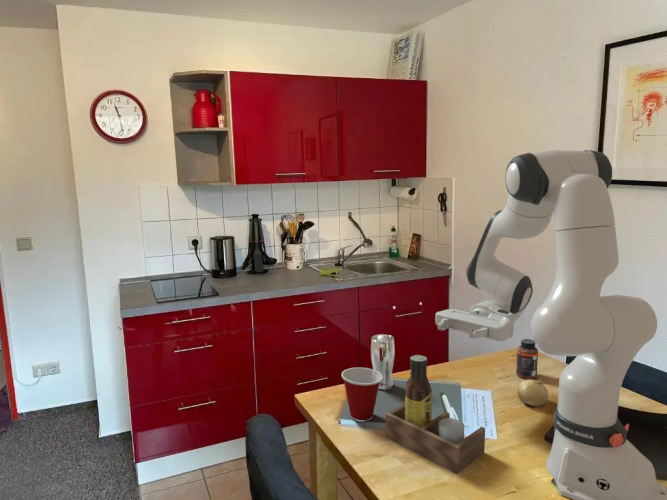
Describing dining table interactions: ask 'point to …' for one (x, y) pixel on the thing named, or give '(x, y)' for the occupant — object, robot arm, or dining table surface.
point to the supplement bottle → (527, 359)
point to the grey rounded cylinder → (451, 430)
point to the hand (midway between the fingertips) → (455, 331)
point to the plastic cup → (361, 391)
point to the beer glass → (383, 358)
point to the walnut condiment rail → (434, 441)
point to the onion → (532, 392)
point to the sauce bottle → (418, 393)
